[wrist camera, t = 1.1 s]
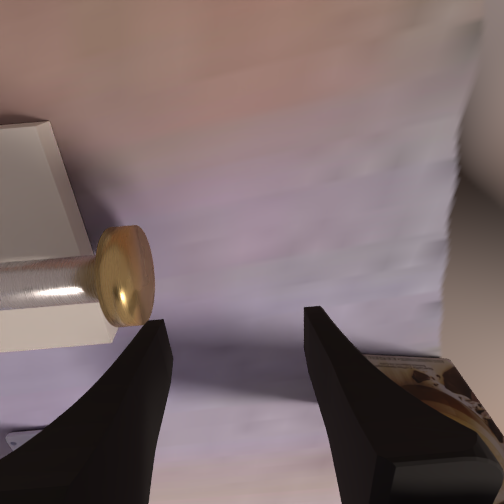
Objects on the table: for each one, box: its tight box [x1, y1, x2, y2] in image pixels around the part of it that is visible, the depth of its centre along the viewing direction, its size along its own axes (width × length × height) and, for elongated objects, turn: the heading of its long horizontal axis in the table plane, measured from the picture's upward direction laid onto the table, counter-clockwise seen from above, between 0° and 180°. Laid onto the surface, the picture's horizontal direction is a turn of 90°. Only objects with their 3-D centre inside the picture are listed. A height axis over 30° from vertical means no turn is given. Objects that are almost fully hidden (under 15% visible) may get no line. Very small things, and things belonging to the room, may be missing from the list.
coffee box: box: [363, 354, 504, 504], centre depth 22 cm, size 9×6×16 cm
